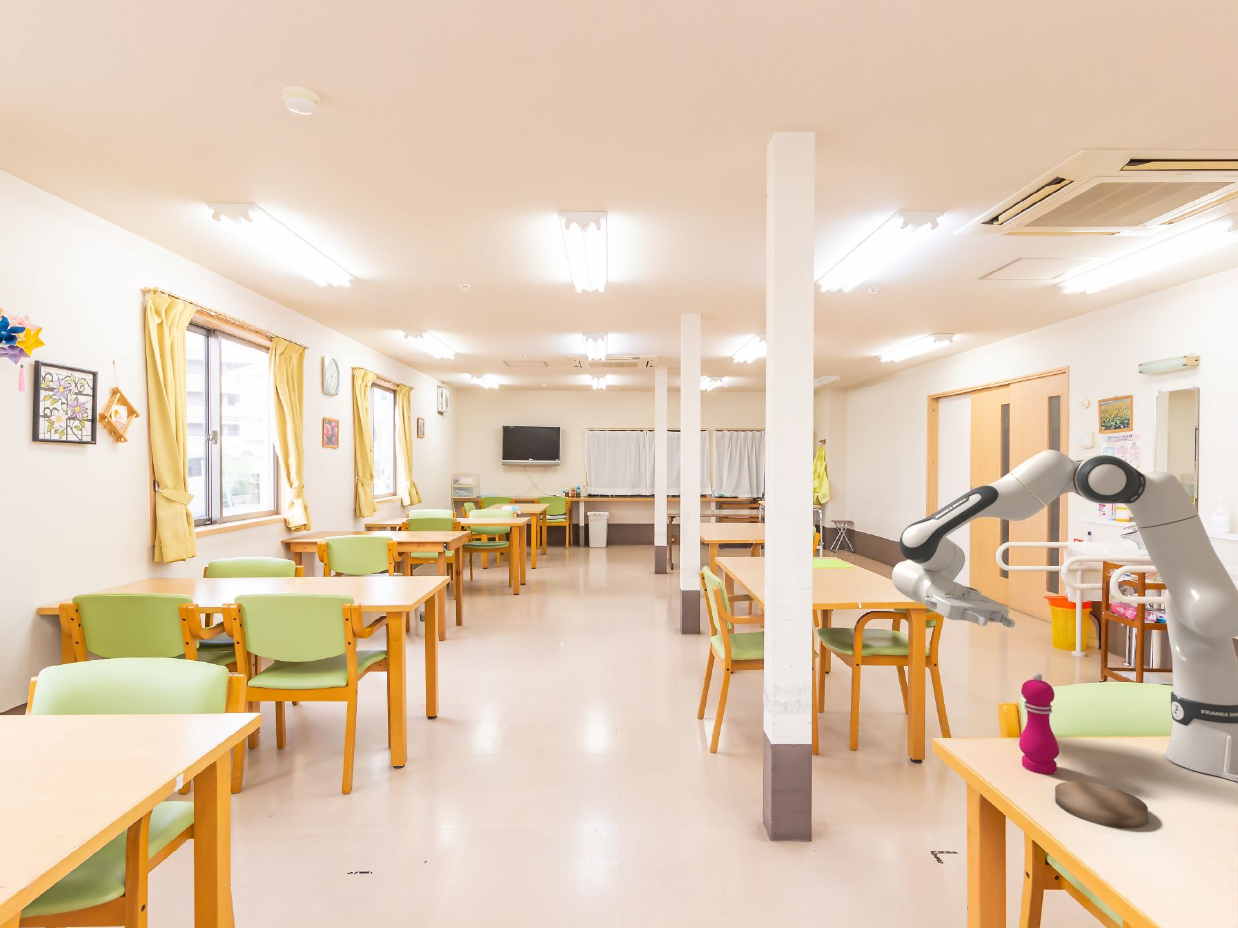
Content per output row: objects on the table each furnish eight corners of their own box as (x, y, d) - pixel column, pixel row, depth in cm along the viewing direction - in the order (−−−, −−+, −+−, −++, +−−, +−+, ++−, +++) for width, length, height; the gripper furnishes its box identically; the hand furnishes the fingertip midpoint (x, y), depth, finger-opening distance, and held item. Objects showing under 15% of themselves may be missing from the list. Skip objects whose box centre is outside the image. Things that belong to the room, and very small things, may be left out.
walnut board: (1117, 793, 132) (1117, 783, 132) (1167, 829, 118) (1167, 818, 118) (1040, 789, 133) (1040, 779, 133) (1081, 825, 119) (1081, 813, 119)
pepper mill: (1025, 758, 149) (1023, 666, 149) (1063, 768, 143) (1061, 672, 144) (1015, 767, 143) (1013, 672, 144) (1054, 778, 138) (1052, 679, 139)
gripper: (923, 584, 161) (973, 608, 148) (980, 589, 170) (1031, 612, 157) (915, 608, 162) (964, 635, 149) (972, 612, 171) (1023, 638, 158)
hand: (999, 623), depth 153 cm, fingers open, 8 cm apart
